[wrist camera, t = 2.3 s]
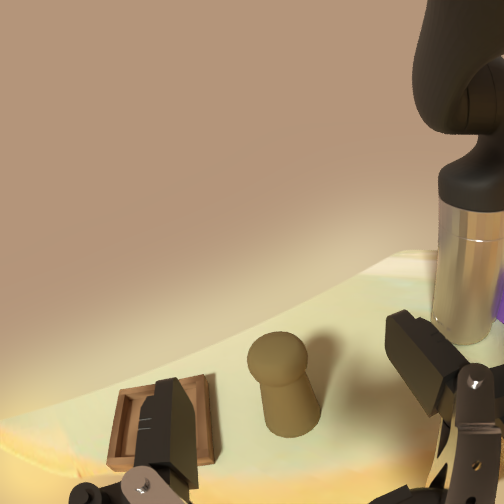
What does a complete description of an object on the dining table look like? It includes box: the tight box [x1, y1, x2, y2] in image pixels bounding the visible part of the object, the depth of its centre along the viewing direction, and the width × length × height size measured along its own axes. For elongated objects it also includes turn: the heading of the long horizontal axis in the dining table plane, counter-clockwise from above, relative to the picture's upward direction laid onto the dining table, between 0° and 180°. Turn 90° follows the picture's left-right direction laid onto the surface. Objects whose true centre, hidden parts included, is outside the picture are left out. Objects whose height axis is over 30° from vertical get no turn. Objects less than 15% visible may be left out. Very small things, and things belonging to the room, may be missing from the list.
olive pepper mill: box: [247, 331, 321, 438], centre depth 27 cm, size 6×6×11 cm
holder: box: [106, 374, 215, 472], centre depth 30 cm, size 12×12×2 cm
